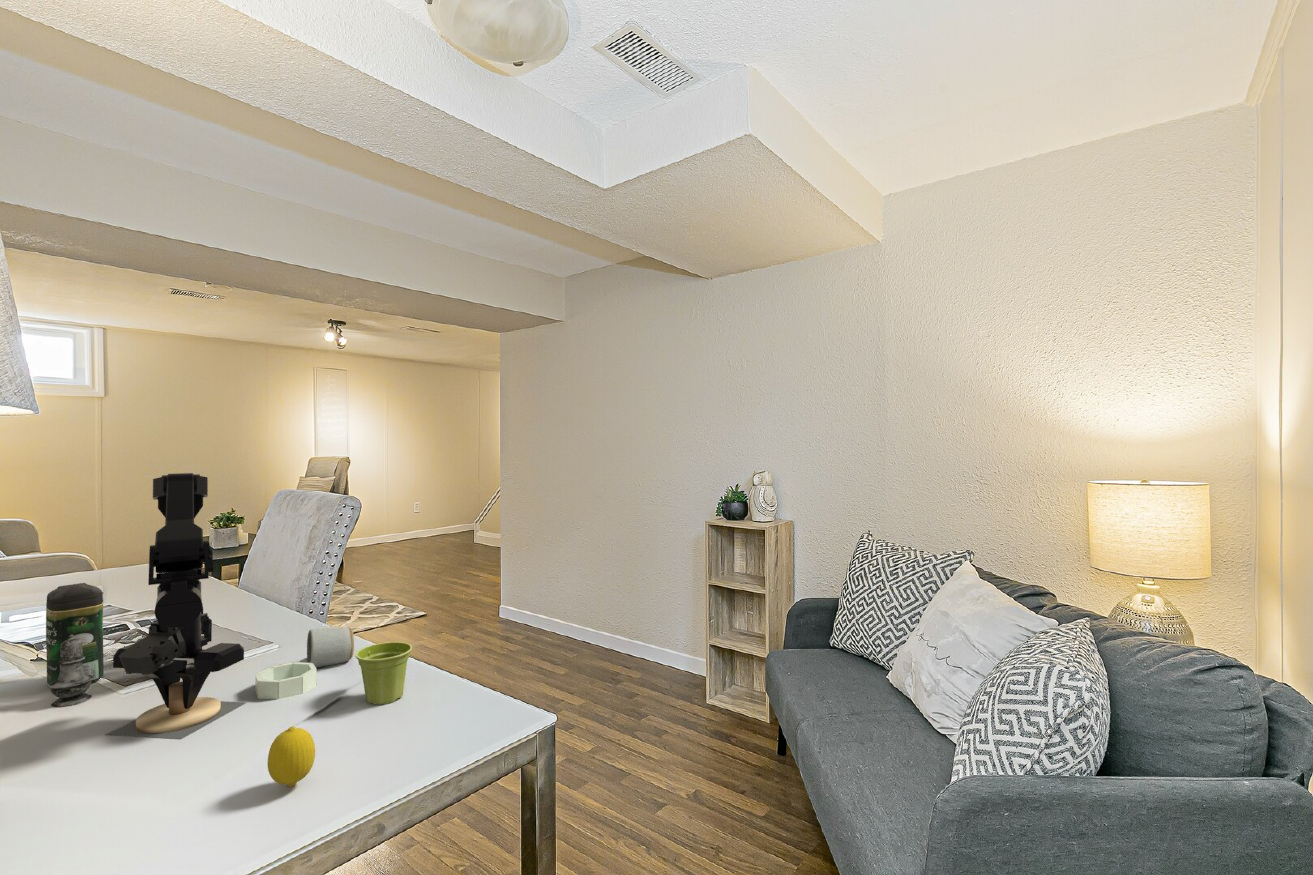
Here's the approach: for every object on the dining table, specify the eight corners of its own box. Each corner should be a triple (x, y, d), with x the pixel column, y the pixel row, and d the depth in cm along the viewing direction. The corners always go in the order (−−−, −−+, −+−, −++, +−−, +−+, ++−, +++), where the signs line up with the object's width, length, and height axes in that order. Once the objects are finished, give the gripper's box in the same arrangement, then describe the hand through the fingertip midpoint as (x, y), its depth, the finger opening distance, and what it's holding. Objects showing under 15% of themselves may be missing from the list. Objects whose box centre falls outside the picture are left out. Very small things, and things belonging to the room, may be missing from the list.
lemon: (281, 776, 86) (280, 718, 86) (322, 774, 86) (322, 716, 86) (258, 799, 80) (258, 737, 80) (303, 797, 80) (303, 735, 80)
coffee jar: (42, 681, 119) (42, 585, 119) (97, 669, 125) (97, 578, 125) (50, 694, 113) (50, 593, 113) (107, 681, 119) (107, 585, 119)
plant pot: (356, 713, 105) (356, 662, 105) (354, 693, 113) (354, 646, 113) (415, 702, 109) (414, 653, 109) (409, 684, 117) (409, 638, 117)
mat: (104, 740, 95) (104, 734, 95) (178, 704, 108) (178, 699, 108) (181, 745, 94) (181, 738, 94) (246, 708, 107) (246, 702, 107)
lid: (116, 731, 96) (116, 696, 96) (178, 701, 107) (178, 670, 107) (181, 734, 95) (181, 699, 95) (236, 704, 106) (236, 672, 106)
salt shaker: (101, 696, 112) (101, 630, 112) (61, 710, 106) (61, 640, 106) (80, 692, 114) (80, 627, 114) (40, 705, 108) (40, 637, 108)
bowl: (243, 702, 109) (243, 680, 109) (281, 682, 118) (280, 661, 118) (292, 705, 108) (292, 682, 108) (325, 684, 117) (325, 663, 117)
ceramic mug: (355, 664, 128) (355, 627, 128) (310, 673, 123) (310, 634, 123) (345, 651, 136) (345, 616, 136) (303, 659, 131) (303, 623, 131)
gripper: (77, 625, 94) (77, 727, 94) (189, 629, 92) (189, 733, 92) (145, 605, 105) (145, 697, 105) (246, 609, 103) (246, 702, 103)
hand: (179, 707), depth 101 cm, fingers closed on lid, 3 cm apart
